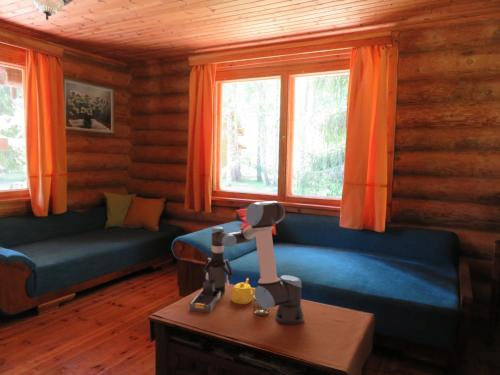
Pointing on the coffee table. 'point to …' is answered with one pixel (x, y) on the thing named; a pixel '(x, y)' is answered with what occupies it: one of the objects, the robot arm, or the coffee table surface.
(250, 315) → the coffee table surface
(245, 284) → the teapot
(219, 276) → the electronic device
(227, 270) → the robot arm
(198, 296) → the rack
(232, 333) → the coffee table surface
